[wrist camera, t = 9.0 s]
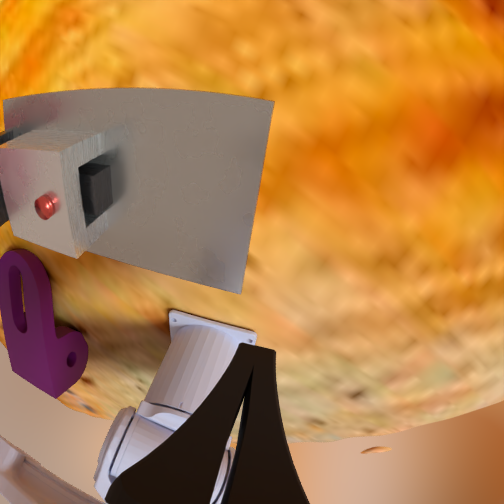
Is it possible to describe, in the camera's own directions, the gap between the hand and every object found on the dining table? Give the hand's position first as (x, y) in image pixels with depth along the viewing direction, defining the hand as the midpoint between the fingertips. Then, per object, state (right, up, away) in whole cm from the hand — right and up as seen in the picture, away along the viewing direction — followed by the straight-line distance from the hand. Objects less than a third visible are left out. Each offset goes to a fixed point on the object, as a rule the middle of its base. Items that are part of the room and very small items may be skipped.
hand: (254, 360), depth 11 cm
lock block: (-15, +10, +8) cm, 20 cm away
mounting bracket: (-27, -2, +21) cm, 34 cm away
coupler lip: (-12, +10, +8) cm, 17 cm away
